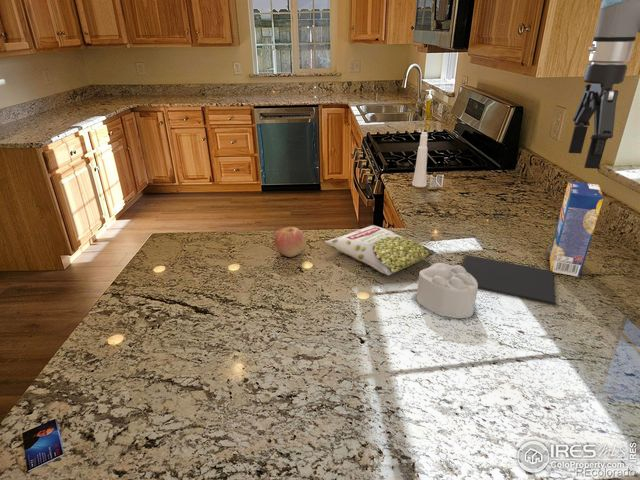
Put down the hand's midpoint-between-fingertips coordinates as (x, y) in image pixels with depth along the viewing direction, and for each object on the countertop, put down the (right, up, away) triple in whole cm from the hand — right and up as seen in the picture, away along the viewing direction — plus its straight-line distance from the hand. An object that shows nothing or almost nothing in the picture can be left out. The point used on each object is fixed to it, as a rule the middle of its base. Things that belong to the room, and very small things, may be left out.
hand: (582, 160), depth 101 cm
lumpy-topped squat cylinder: (-32, -34, 0) cm, 47 cm away
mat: (-14, -29, +10) cm, 34 cm away
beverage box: (+5, -26, +16) cm, 31 cm away
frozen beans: (-46, -24, +21) cm, 56 cm away
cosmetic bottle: (-21, +4, +78) cm, 81 cm away
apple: (-71, -23, +23) cm, 78 cm away
